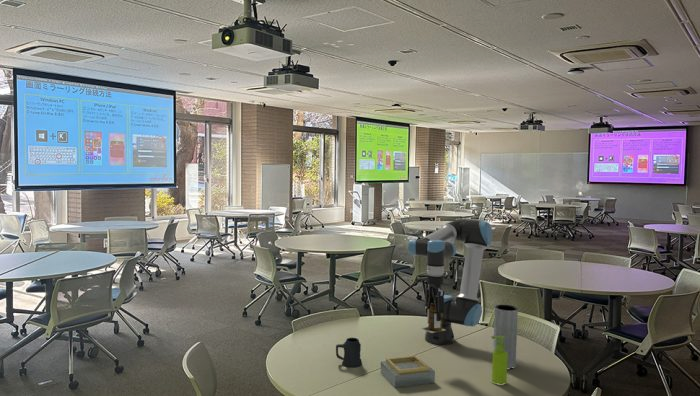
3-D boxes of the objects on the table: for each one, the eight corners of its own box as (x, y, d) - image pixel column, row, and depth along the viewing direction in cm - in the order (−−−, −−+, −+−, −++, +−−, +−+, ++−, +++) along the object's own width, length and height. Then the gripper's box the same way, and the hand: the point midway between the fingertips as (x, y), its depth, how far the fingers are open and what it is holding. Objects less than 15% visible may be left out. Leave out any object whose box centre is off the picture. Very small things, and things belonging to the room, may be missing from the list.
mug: (362, 360, 245) (362, 336, 244) (362, 367, 236) (362, 343, 235) (336, 359, 245) (336, 335, 244) (335, 367, 236) (335, 342, 235)
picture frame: (415, 366, 239) (415, 352, 238) (434, 382, 221) (435, 367, 220) (378, 370, 233) (378, 355, 233) (394, 387, 215) (395, 372, 215)
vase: (502, 371, 235) (504, 311, 233) (488, 363, 244) (490, 305, 243) (520, 368, 239) (522, 309, 237) (505, 360, 248) (507, 303, 247)
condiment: (446, 330, 237) (446, 304, 236) (432, 333, 232) (432, 306, 232) (435, 326, 243) (435, 300, 242) (421, 329, 238) (421, 302, 238)
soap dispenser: (487, 380, 225) (489, 333, 224) (503, 379, 225) (504, 333, 224) (492, 385, 219) (494, 338, 218) (508, 385, 219) (510, 338, 218)
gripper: (418, 270, 244) (417, 320, 246) (437, 279, 226) (436, 332, 228) (432, 270, 247) (431, 318, 248) (453, 278, 228) (451, 331, 230)
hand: (433, 325), depth 238 cm, fingers closed on condiment, 6 cm apart
